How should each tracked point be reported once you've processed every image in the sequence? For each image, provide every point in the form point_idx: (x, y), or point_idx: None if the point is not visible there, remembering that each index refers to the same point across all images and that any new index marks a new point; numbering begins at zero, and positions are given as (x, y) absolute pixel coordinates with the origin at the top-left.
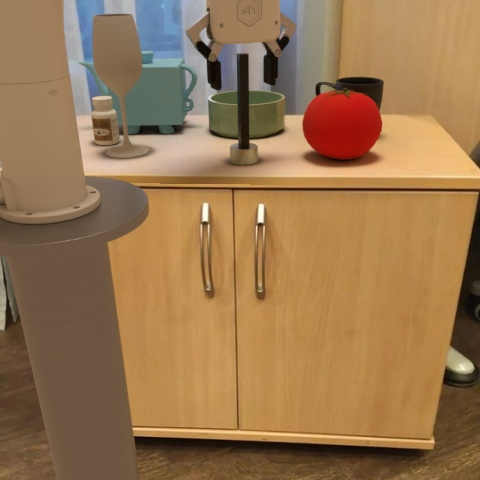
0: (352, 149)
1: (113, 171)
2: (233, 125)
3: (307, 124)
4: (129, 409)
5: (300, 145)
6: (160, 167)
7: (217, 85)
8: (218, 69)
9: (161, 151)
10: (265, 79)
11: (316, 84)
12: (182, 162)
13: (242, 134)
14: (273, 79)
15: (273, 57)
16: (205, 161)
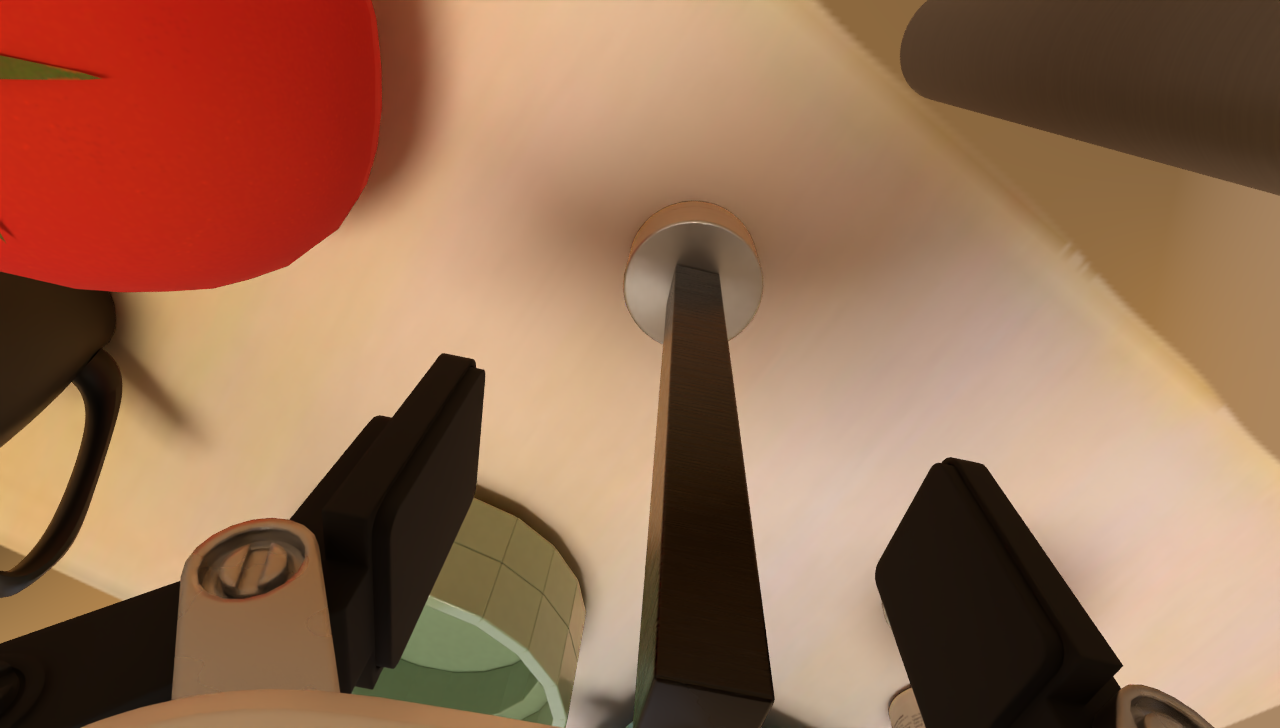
0: None
1: (1182, 451)
2: (538, 567)
3: (352, 97)
4: (1072, 5)
5: (345, 316)
6: (1017, 393)
7: (995, 481)
8: (1054, 585)
9: (863, 548)
10: (470, 478)
11: (18, 587)
12: (903, 399)
13: (714, 298)
14: (452, 374)
15: (358, 515)
16: (823, 358)
